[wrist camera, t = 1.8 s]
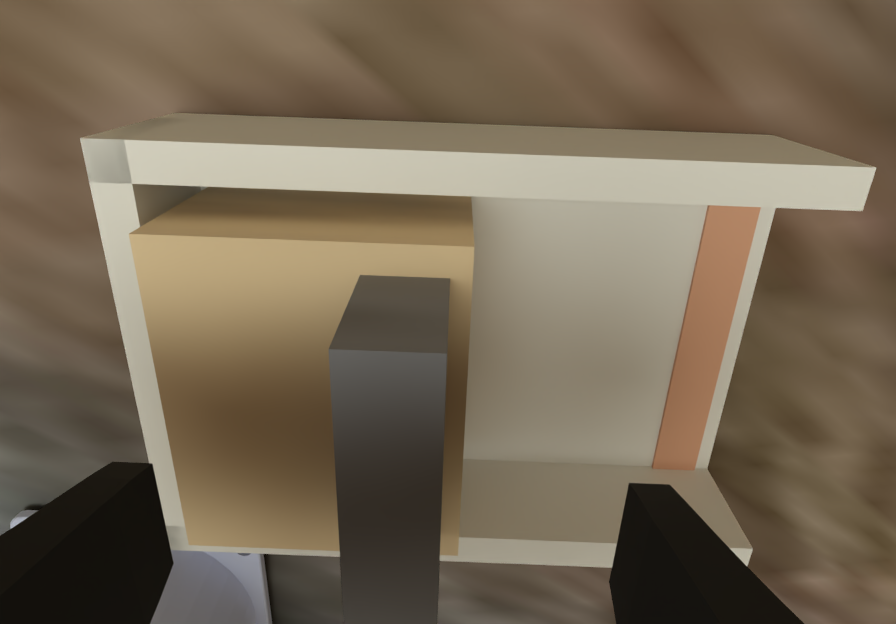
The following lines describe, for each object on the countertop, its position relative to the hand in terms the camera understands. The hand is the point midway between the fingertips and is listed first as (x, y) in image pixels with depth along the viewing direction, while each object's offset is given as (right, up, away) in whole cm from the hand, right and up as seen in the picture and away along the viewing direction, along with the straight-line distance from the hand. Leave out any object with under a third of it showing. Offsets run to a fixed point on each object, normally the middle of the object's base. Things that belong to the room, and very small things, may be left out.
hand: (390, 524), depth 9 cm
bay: (+1, +3, +7) cm, 8 cm away
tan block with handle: (-2, +3, +6) cm, 7 cm away
